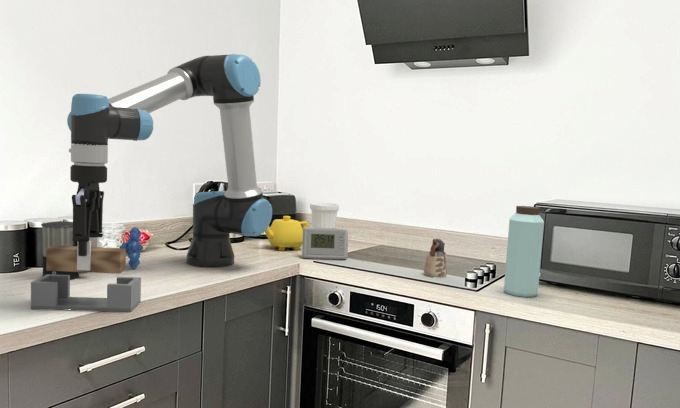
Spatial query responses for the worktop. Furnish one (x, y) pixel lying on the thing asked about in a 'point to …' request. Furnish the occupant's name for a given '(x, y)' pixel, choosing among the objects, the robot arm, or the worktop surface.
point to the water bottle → (524, 252)
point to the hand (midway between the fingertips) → (87, 267)
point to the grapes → (133, 247)
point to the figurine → (436, 260)
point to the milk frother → (57, 242)
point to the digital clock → (325, 243)
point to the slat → (100, 259)
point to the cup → (324, 215)
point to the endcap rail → (57, 296)
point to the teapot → (286, 233)
